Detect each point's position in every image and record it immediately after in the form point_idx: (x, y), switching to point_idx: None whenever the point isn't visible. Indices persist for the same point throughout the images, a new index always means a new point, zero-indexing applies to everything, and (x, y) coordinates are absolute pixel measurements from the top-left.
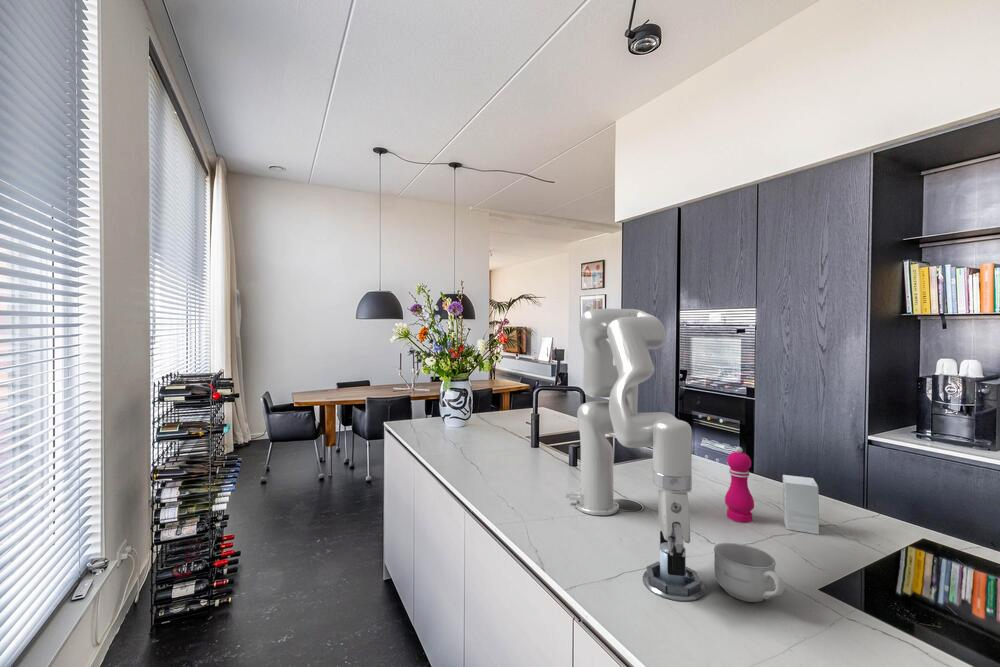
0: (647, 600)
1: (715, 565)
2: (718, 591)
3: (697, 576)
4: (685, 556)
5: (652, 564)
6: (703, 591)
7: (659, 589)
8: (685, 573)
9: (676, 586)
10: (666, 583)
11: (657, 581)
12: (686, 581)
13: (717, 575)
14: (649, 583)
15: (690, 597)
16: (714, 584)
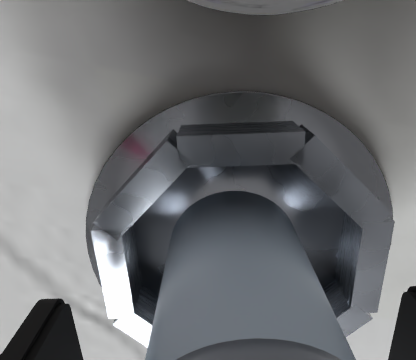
0: (384, 344)
1: (295, 4)
2: None
3: (235, 141)
4: (286, 309)
5: None
6: (308, 110)
7: None
8: (269, 228)
9: (369, 272)
10: (344, 312)
11: None
12: (217, 184)
13: (325, 5)
14: None
15: (372, 188)
16: (185, 16)
